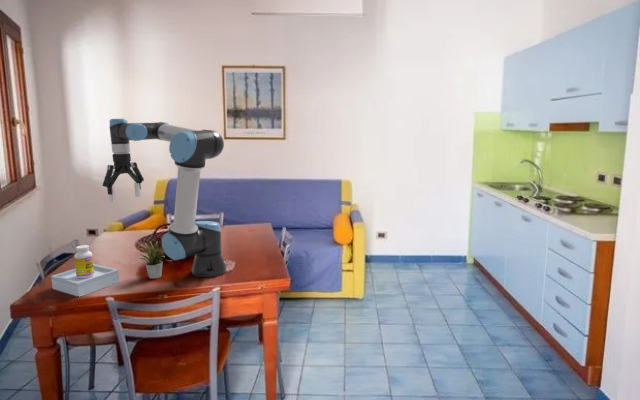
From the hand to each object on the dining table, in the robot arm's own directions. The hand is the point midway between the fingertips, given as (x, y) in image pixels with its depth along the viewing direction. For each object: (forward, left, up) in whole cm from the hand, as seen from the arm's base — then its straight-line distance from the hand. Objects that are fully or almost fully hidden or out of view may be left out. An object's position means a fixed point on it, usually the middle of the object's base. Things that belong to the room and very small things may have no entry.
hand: (125, 199), depth 210 cm
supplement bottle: (-6, +27, -28) cm, 39 cm away
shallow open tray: (-6, +27, -32) cm, 42 cm away
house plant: (-24, +5, -32) cm, 40 cm away
